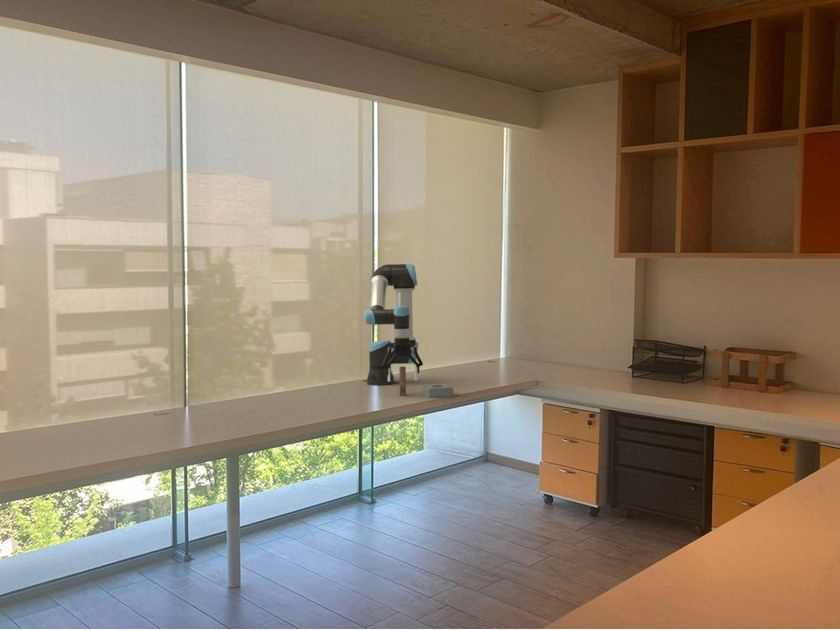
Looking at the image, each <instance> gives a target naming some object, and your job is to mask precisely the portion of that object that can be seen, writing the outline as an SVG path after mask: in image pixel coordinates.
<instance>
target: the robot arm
mask: <svg viewBox="0 0 840 630" xmlns="http://www.w3.org/2000/svg"><path fill="white" fill-rule="evenodd" d="M417 279H418V278H417V272H416V267H415V265H414V264H411V263H402V264H401V263H399V264H397V263H396V264H395V263H394V264H384V265H381V266H378V268H377V269H375V270H374V271H373V273H372V275H371V277H370V283H369V284H370V287H371V292H370V293H371V294H370V304H369V305H370V306H369V309H366V310H365V311H364V312H365V313H364V316H365V317H364V320H365V324H366V325H373V326H375V325H377V326H378V325H379V326H380V325H393V336H394V339H393V342H391V339H384V340H379V341H373V342H371V343H370V344H369V349H368V350H369V351H368V353H369V372H368V374H367V377H366V384H367V385H371V386H386V385H393V384H395V377H394V374H393V371H392V365H403V364H404V365H406V364H407V365H408V364H409V365H410V364H414V365H415V366H414V381H418V376H419V375H418V374H420V367H421V366H424V363H423V361H422V359H421V357H420V355H419V353H418V351H419V342H417V340H416V338H415V337H414V333H413V332H414V330H413V328H414V324H413V322H414V320H413V292H414V290H416V286H418V280H417ZM389 286H390V287H393V291H395V294H396V295H395V296H396V301H395V302H396V305H395V306H394V307H393V308H392V309H389V308H388V309H386V297H387V295H386V294H387V288H388V287H389ZM417 361H418V362H417Z"/></svg>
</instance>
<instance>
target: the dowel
mask: <svg viewBox="0 0 840 630" xmlns="http://www.w3.org/2000/svg"><path fill="white" fill-rule="evenodd" d="M406 369H407V368H406V366H399V370H398V371H399V396H401V397H404V396H407V377H406V375H407V374H406V373H407V372H406Z"/></svg>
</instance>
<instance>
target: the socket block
mask: <svg viewBox="0 0 840 630" xmlns="http://www.w3.org/2000/svg"><path fill="white" fill-rule="evenodd" d="M422 395H423V396H425V397H427V398H429V399H434V398H436V399H437V398H447V397H449V398H451V397H454V387H453V386H451V385H449V384H447V383H437V384H422Z"/></svg>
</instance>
